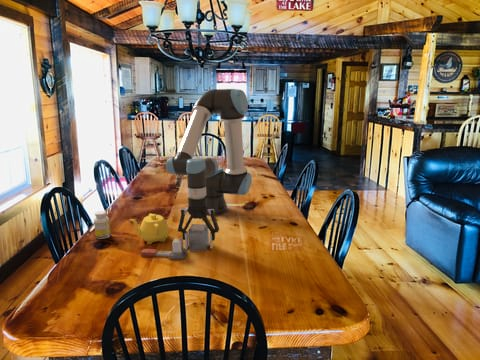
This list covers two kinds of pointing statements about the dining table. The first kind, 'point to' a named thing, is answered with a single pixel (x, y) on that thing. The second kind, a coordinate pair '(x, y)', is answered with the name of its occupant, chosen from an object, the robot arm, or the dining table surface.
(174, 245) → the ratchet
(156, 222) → the teapot
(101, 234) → the pill bottle
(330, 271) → the dining table surface
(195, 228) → the rimmed grey cube
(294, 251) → the dining table surface
